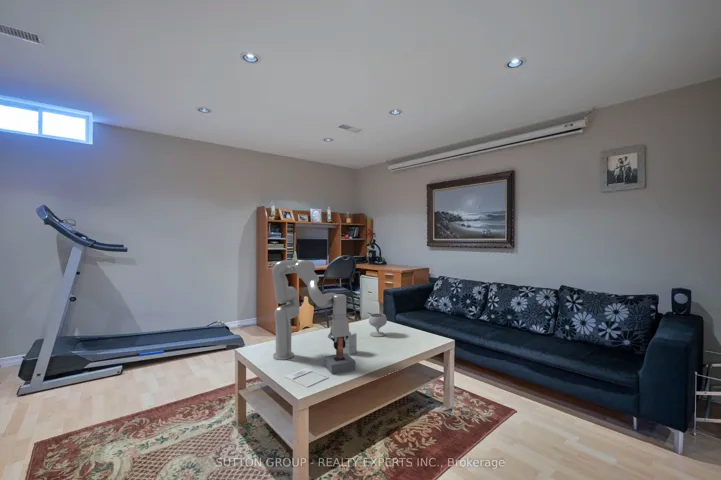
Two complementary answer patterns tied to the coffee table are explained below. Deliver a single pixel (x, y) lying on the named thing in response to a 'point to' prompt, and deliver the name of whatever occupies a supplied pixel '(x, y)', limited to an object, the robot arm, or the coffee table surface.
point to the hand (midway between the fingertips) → (339, 347)
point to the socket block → (339, 363)
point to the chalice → (377, 323)
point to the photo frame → (303, 372)
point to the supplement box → (351, 344)
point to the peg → (339, 348)
